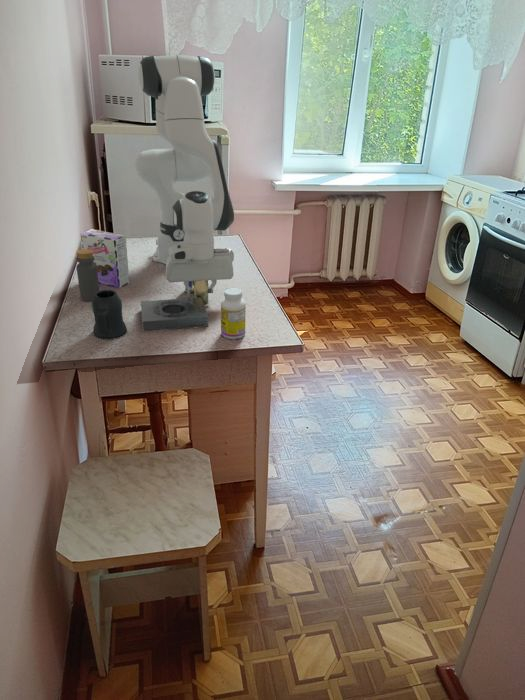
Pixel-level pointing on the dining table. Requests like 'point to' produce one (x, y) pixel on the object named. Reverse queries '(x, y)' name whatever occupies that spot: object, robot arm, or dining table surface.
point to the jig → (173, 314)
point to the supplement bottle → (233, 314)
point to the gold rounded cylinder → (200, 290)
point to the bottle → (87, 275)
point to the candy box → (108, 256)
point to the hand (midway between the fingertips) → (200, 293)
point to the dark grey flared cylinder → (108, 315)
